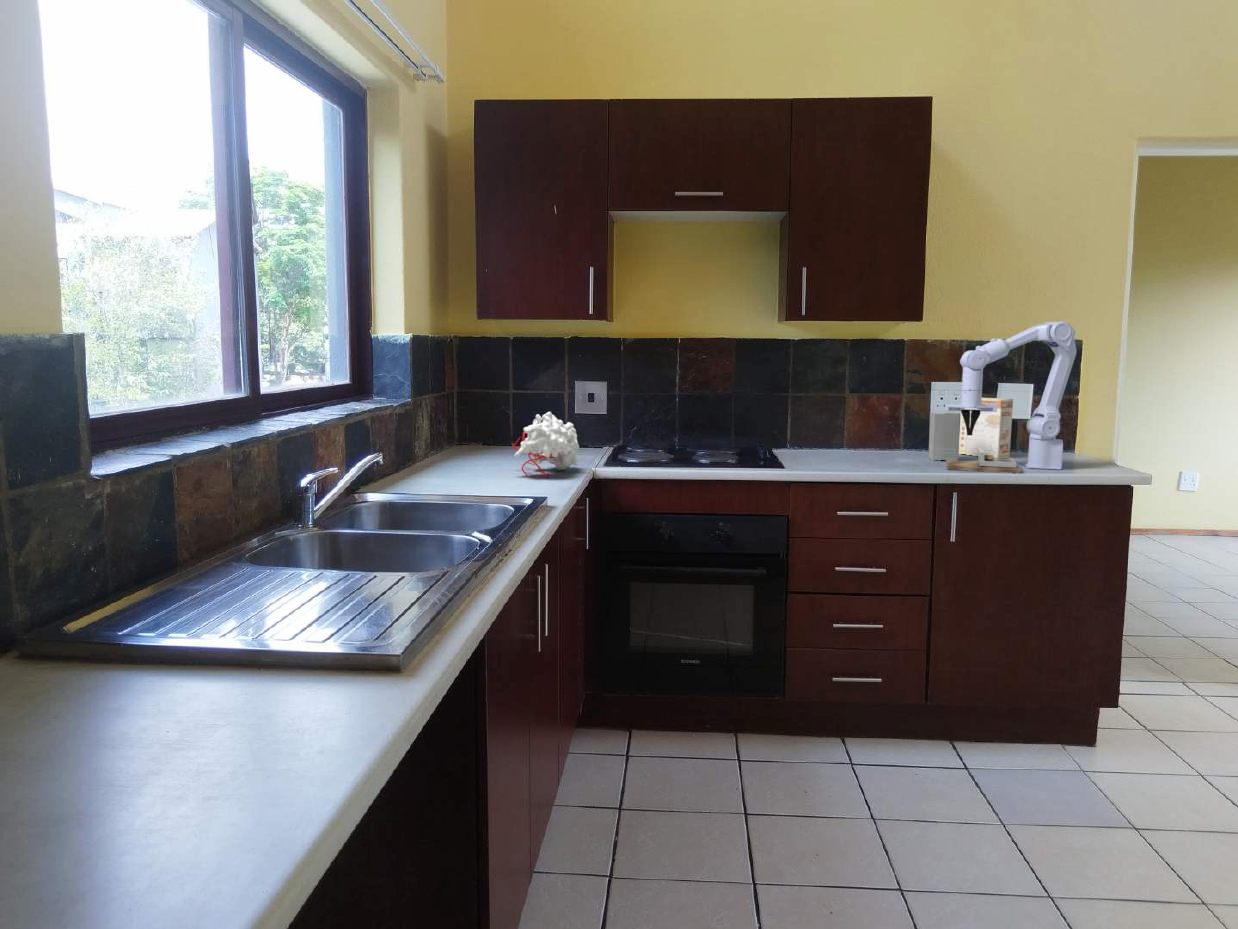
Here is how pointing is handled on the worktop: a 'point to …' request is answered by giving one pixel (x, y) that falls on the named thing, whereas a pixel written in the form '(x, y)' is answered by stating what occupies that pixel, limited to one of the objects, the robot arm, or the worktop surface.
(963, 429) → the coffeecake box
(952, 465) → the board
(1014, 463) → the panel
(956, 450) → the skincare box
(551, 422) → the molecular structure model
